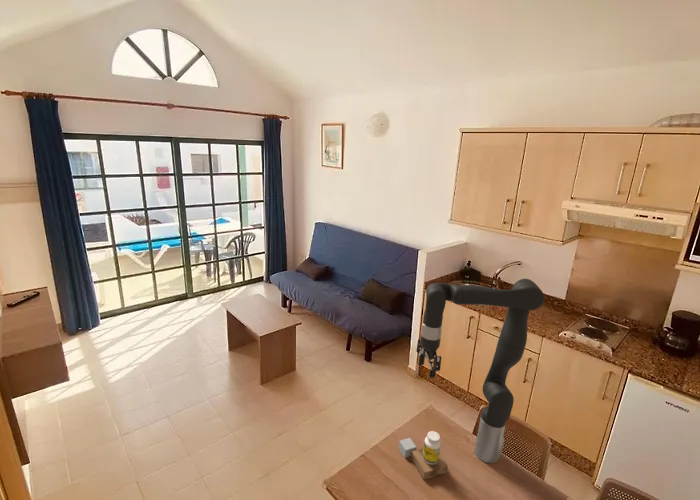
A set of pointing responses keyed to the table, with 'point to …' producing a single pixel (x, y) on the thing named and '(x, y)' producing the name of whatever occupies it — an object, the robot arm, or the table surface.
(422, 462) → the walnut block
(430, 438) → the pill bottle
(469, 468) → the table surface
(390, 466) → the table surface
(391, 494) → the table surface
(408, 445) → the slate block
